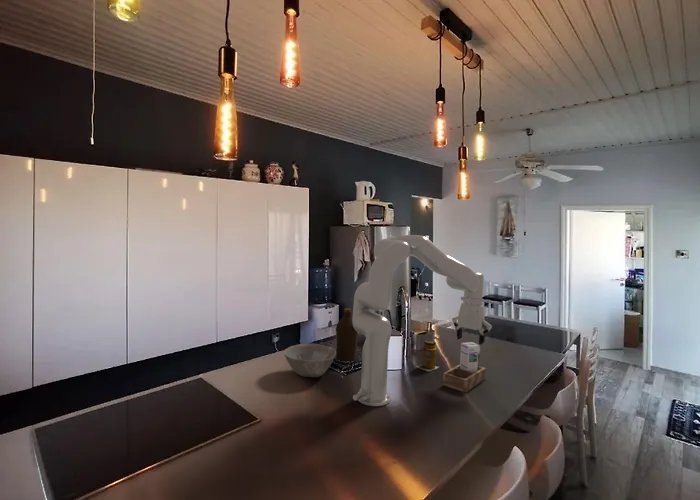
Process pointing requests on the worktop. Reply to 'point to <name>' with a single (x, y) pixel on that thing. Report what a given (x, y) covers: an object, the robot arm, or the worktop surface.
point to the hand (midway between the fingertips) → (470, 341)
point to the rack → (463, 378)
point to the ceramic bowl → (310, 359)
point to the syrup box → (470, 357)
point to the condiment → (428, 356)
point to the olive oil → (346, 338)
